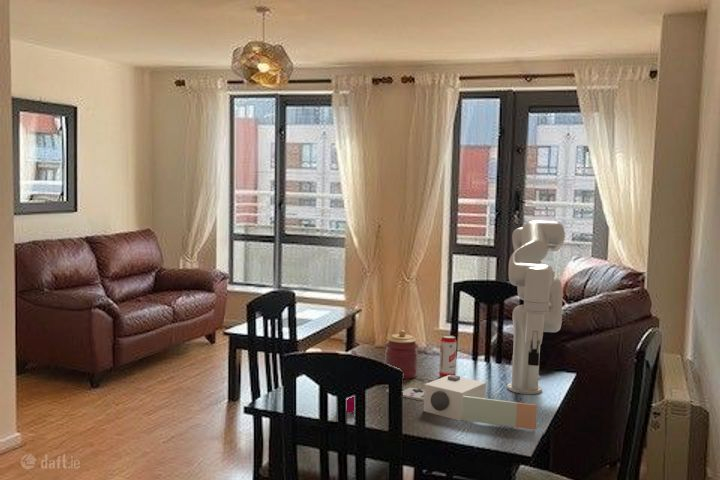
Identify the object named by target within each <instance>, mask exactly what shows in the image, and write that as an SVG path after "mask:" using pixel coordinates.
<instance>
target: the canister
mask: <svg viewBox="0 0 720 480" xmlns="http://www.w3.org/2000/svg"><path fill="white" fill-rule="evenodd" d="M385 347H386V350H385V352H384V355H385V356H384V364H385V363H387V364H390V365H392V366H395V367H397V368H400V369H401V370H402V371H403V373H404V380H405V379H406V380H407V379H412V378H416V377H417V375H418V361H419V360H418V359H419V358H418V357H419V353H418V348H419V344H417V338H416V337H414V336H413V335H410V334H408V333H407V332H406V331H405V330H403V329H401V330H399V333H394V334H391V335H390V336H388V337H387V342H385Z"/></svg>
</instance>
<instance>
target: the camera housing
mask: <svg viewBox="0 0 720 480" xmlns="http://www.w3.org/2000/svg"><path fill="white" fill-rule="evenodd" d="M486 388H487V382H484V381H479V380H475V379H471V378H465V377H461V376H459V375H456V374H455V375H448V376H445V377H443V378H442V377H440V378H438V379H437V378H436V379H434V380H432V381H429V382H427V383H424V389H423V390H424V401H423V412H426V413H428V414H429V413H430V414H433V415H437V416H440V417H444V418H449V419H451V420H456V421H459V422H461V421H463V420H462V414H463V396H470V397H478V398H486V393H487V389H486Z"/></svg>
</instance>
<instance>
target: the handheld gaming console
mask: <svg viewBox="0 0 720 480" xmlns="http://www.w3.org/2000/svg"><path fill="white" fill-rule="evenodd" d="M402 392H403V397H402V398H405V397H406V399H411V400H415V399H416V401H421V402H424V389H422V388H417V387H408V388H406V389H405V390H402Z"/></svg>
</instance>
